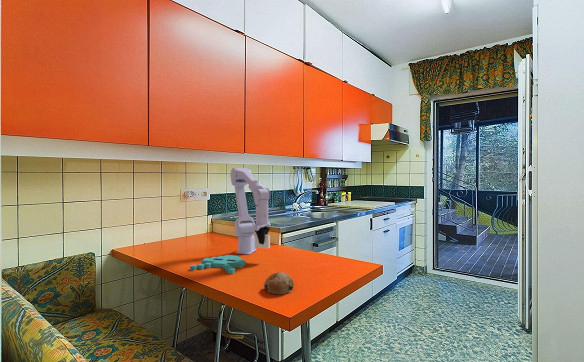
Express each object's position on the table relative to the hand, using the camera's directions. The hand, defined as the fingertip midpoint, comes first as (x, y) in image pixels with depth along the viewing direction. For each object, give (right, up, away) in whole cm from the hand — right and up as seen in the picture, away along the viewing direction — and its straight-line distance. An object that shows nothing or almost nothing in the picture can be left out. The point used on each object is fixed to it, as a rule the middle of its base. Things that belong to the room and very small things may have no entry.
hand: (262, 243), depth 149 cm
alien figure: (-18, -10, -5) cm, 21 cm away
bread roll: (+9, -10, -35) cm, 38 cm away
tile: (0, -2, 0) cm, 2 cm away
